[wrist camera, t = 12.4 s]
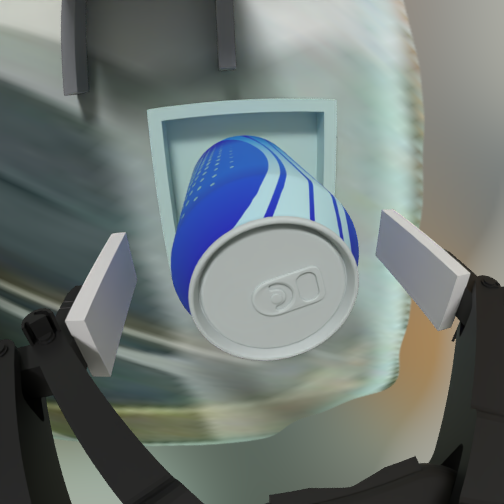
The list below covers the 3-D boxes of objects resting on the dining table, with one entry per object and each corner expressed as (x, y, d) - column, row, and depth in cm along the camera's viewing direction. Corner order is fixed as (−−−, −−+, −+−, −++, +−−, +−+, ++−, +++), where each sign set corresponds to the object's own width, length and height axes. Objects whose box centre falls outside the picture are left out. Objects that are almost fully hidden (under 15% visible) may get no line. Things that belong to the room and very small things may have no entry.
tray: (174, 262, 29) (171, 276, 27) (153, 108, 23) (146, 109, 21) (322, 249, 30) (330, 261, 28) (325, 98, 24) (336, 99, 22)
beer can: (270, 242, 29) (319, 384, 15) (178, 214, 27) (145, 352, 12) (308, 155, 25) (416, 237, 11) (211, 119, 23) (203, 154, 9)
